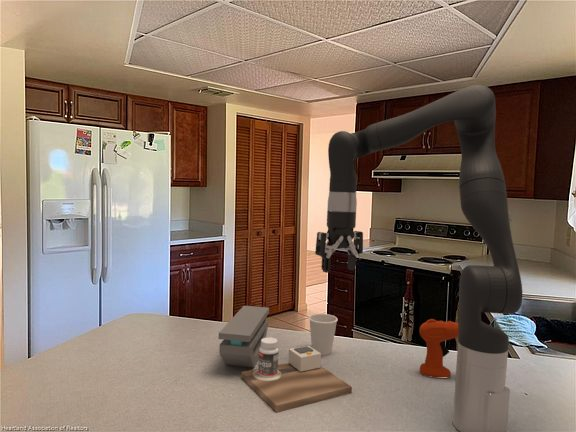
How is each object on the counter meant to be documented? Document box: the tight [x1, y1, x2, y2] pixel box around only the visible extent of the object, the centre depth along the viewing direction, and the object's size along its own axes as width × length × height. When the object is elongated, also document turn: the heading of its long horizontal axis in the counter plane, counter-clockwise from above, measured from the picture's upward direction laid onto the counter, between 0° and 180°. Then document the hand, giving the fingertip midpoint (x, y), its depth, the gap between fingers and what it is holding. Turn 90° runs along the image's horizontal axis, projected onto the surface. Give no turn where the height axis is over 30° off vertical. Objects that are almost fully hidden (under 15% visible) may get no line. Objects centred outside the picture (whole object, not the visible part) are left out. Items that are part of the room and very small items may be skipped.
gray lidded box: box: [217, 305, 270, 369], centre depth 119 cm, size 25×8×11 cm, turn 172°
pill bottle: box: [257, 336, 279, 377], centre depth 106 cm, size 5×5×8 cm
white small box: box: [287, 345, 322, 372], centre depth 112 cm, size 6×6×4 cm
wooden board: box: [241, 362, 353, 413], centre depth 104 cm, size 18×20×2 cm
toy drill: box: [419, 318, 459, 378], centre depth 113 cm, size 5×19×15 cm, turn 80°
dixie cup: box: [308, 313, 338, 356], centre depth 126 cm, size 8×8×10 cm
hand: (338, 270), depth 115 cm, fingers open, 8 cm apart
